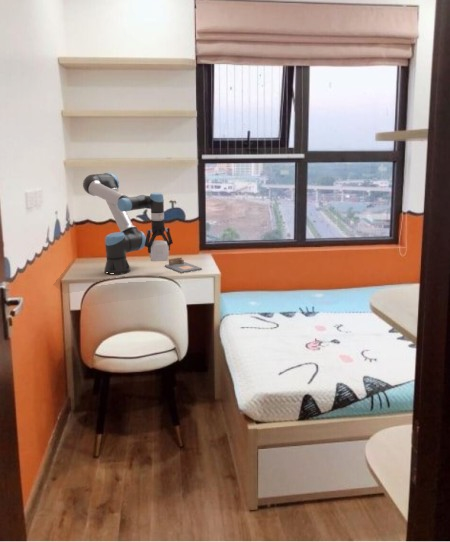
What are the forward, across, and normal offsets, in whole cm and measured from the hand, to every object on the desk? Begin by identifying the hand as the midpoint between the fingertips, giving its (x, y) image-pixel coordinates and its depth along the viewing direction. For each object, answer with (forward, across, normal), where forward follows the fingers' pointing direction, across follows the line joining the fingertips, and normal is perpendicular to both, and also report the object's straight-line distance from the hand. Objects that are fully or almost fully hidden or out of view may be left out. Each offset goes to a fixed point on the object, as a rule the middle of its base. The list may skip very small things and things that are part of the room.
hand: (159, 257), depth 310 cm
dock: (+9, +16, +1) cm, 19 cm away
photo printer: (+2, 0, 0) cm, 2 cm away
